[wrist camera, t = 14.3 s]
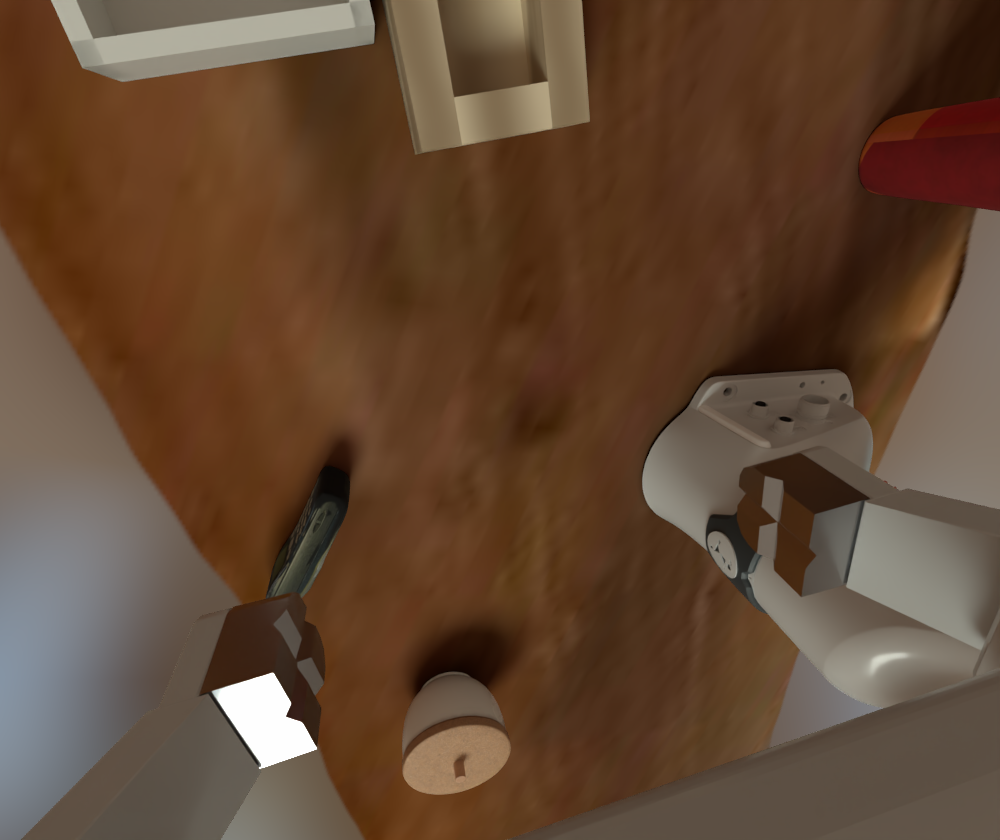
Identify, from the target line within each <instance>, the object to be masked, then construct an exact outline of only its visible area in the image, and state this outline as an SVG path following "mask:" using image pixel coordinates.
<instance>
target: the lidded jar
mask: <svg viewBox="0 0 1000 840" xmlns="http://www.w3.org/2000/svg"><path fill="white" fill-rule="evenodd" d="M402 746H403V759H402V770H403V776H404V779H405V780H406V782H407V783H408V784H409V785H410V786H411V787H412V788H414V789H416V790H418V791H420V792H423V793H428V794H438V795H440V794H451V793H457V792H461V791H464V790H467V789H470V788H473V787H475V786H477V785H479V784H481V783H483V782H485V781H487V780H488V779H490V778H491V777H492V776H494V775H495V774H496V773H497V772H498V771H499V770H500V769H501V768H502V767H503V766H504V764H505V763H506V761H507V759H508V757H509V754H510V750H511V744H510V739H509V735H508V732H507V731H506V728H505V724H504V720H503V717H502V714H501V711H500V709H499V706H498V704H497V702H496V701H495V699H494V697H493V695H492V694H491V692H490V691H489V690H488V689H487V688H486V687H485V686H484V685H483V684H482V683H480V682H479V681H477V680H475V679H473V678H471V677H470V676H469V675H468V674H465V673H463V672H456V671H452V672H445V673H442V674H439V675H436V676H434V677H433V678H431V679H430V680H428V681H427V682H426V683H425V684H424V685H423V687H422V689H421V690H420V691H419V693H418V694H417V695H416V696H415V698H414V699H413V701H412V703H411V704H410V706H409V709H408V712H407V714H406V717H405V723H404V729H403V740H402Z"/></svg>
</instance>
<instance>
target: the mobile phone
mask: <svg viewBox="0 0 1000 840" xmlns="http://www.w3.org/2000/svg"><path fill="white" fill-rule="evenodd" d="M349 493H350V481H349V478H348V476H347V475H346V474H345V473H344V472H343V471H341V470H339V469H337V468H334V467H331V466H326V467H325V468H324V469H323V470H322V471H321V473H320V475H319V477H318V480H317V482H316V485H315V487H314V489H313V491H312V493H311V496H310V498H309V500H308V502H307V504H306V506H305V509H304V511H303V513H302V515H301V517H300V519H299V522H298V524H297V525H296V527H295V529H294V531H293V533H292V534H291V536H290V537H289V539H288V540H287V542H286V543H285V545H284V546H283V547H282V549H281V551H280V553H279V555H278V557H277V560H276V562H275V564H274V567H273V570H272V574H271V578H270V582H269V586H268V591H267V595H266V599H267V598H271V597H275V596H279V595H283V594H287V593H291V592H296V593H299V594H300V596H301V598H302V597H303V596H304V595H305V594H306V593H307V592H308V591H309V590H310V588H311V586H312V584H313V582H314V580H315V578H316V576H317V575H318V573H319V571H320V569H321V567H322V565H323V562H324V559H325V557H326V555H327V553H328V551H329V549H330V547H331V545H332V543H333V541H334V539H335V537H336V535H337V533H338V531H339V528H340V526H341V524H342V522H343V520H344V518H345V515H346V512H347V509H348V502H349Z"/></svg>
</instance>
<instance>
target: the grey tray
mask: <svg viewBox="0 0 1000 840" xmlns="http://www.w3.org/2000/svg"><path fill="white" fill-rule="evenodd" d="M51 1H52V3H53V5H54V8H55V10H56V12H57V14H58V16H59V18H60V21H61V23H62V25H63V27H64V29H65V31H66V34H67V36H68V38H69V40H70V42H71V44H72V47H73V49H74V51H75V53H76V55H77V57H78V60H79V62H80V64H81V66H82V68H84V69H87V70H90V71H93V72H96V73H99V74H101V75H104V76H107V77H110V78H113V79H116V80H119V81H121V82H125V81H132V80H138V79H145V78H151V77H158V76H164V75H171V74H177V73H184V72H190V71H197V70H204V69H210V68H217V67H223V66H230V65H236V64H243V63H249V62H256V61H263V60H269V59H276V58H282V57H289V56H295V55H302V54H308V53H315V52H321V51H328V50H335V49H341V48H348V47H354V46H361V45H367V44H374V32H375V23H374V18H373V14H372V9H371V5H370V0H51Z"/></svg>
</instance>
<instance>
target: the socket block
mask: <svg viewBox="0 0 1000 840" xmlns="http://www.w3.org/2000/svg"><path fill="white" fill-rule="evenodd" d="M382 2H383V7H384V11H385V16H386V21H387V25H388V30H389V35H390V39H391V44H392V49H393V53H394V58H395V63H396V67H397V72H398V77H399V81H400V86H401V91H402V95H403V100H404V105H405V109H406V114H407V119H408V123H409V128H410V133H411V137H412V142H413V147H414V151H415V154H419V153H425V152H430V151H436V150H441V149H447V148H452V147H458V146H463V145H469V144H474V143H480V142H485V141H491V140H496V139H501V138H507V137H512V136H518V135H523V134H529V133H534V132H540V131H545V130H551V129H556V128H562V127H566V126H571V125H576V124H580V123H585V122H590V118H589V102H588V87H587V72H586V57H585V42H584V26H583V11H582V0H382Z"/></svg>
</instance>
